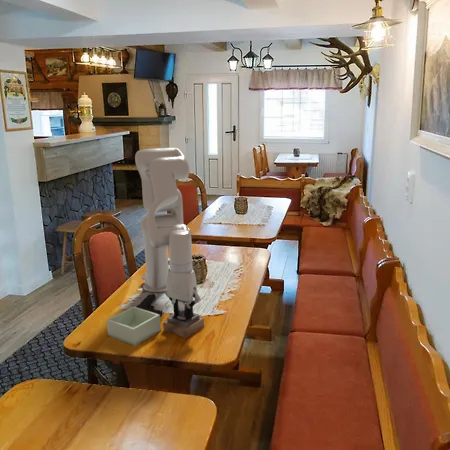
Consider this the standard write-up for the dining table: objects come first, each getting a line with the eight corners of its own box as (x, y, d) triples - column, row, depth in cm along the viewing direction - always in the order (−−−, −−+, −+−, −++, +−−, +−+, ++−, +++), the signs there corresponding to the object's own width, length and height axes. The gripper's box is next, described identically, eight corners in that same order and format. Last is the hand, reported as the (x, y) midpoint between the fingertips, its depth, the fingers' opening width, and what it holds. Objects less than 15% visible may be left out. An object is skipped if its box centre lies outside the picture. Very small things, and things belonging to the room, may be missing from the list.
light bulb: (174, 321, 162) (173, 300, 160) (182, 316, 165) (181, 295, 163) (185, 324, 160) (184, 302, 158) (192, 318, 163) (191, 297, 161)
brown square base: (163, 330, 162) (163, 318, 161) (182, 319, 170) (181, 307, 169) (186, 337, 157) (185, 325, 155) (204, 326, 164) (203, 314, 163)
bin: (108, 335, 159) (106, 319, 157) (134, 321, 169) (133, 306, 167) (134, 346, 152) (133, 329, 150) (160, 330, 162) (159, 314, 160)
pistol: (174, 294, 186) (147, 291, 189) (156, 315, 167) (127, 311, 170) (174, 302, 187) (147, 299, 189) (156, 324, 168) (127, 320, 170)
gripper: (154, 265, 158) (157, 315, 163) (196, 274, 150) (198, 325, 155) (167, 259, 164) (170, 306, 169) (208, 266, 156) (209, 316, 161)
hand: (183, 315), depth 162 cm, fingers closed on light bulb, 4 cm apart
